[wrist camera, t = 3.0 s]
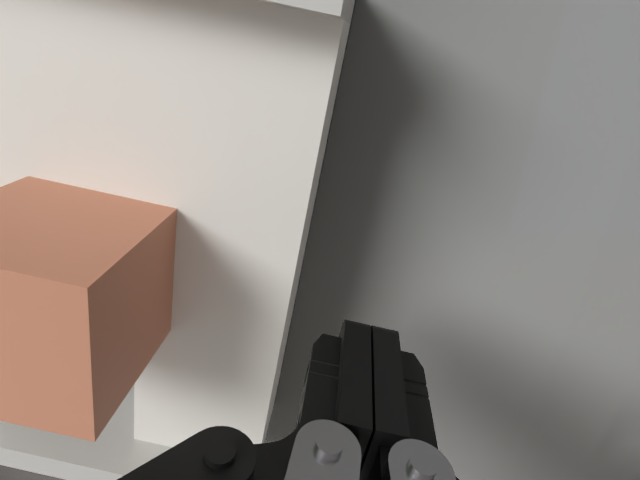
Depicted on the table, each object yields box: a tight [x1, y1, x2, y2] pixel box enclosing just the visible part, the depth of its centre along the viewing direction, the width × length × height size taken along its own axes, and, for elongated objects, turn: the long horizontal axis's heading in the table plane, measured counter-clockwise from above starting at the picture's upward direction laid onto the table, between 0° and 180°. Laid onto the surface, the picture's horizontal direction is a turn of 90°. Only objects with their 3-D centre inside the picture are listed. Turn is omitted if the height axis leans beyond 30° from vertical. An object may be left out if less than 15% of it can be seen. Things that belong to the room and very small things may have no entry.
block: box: [0, 176, 177, 442], centre depth 12 cm, size 4×4×4 cm
